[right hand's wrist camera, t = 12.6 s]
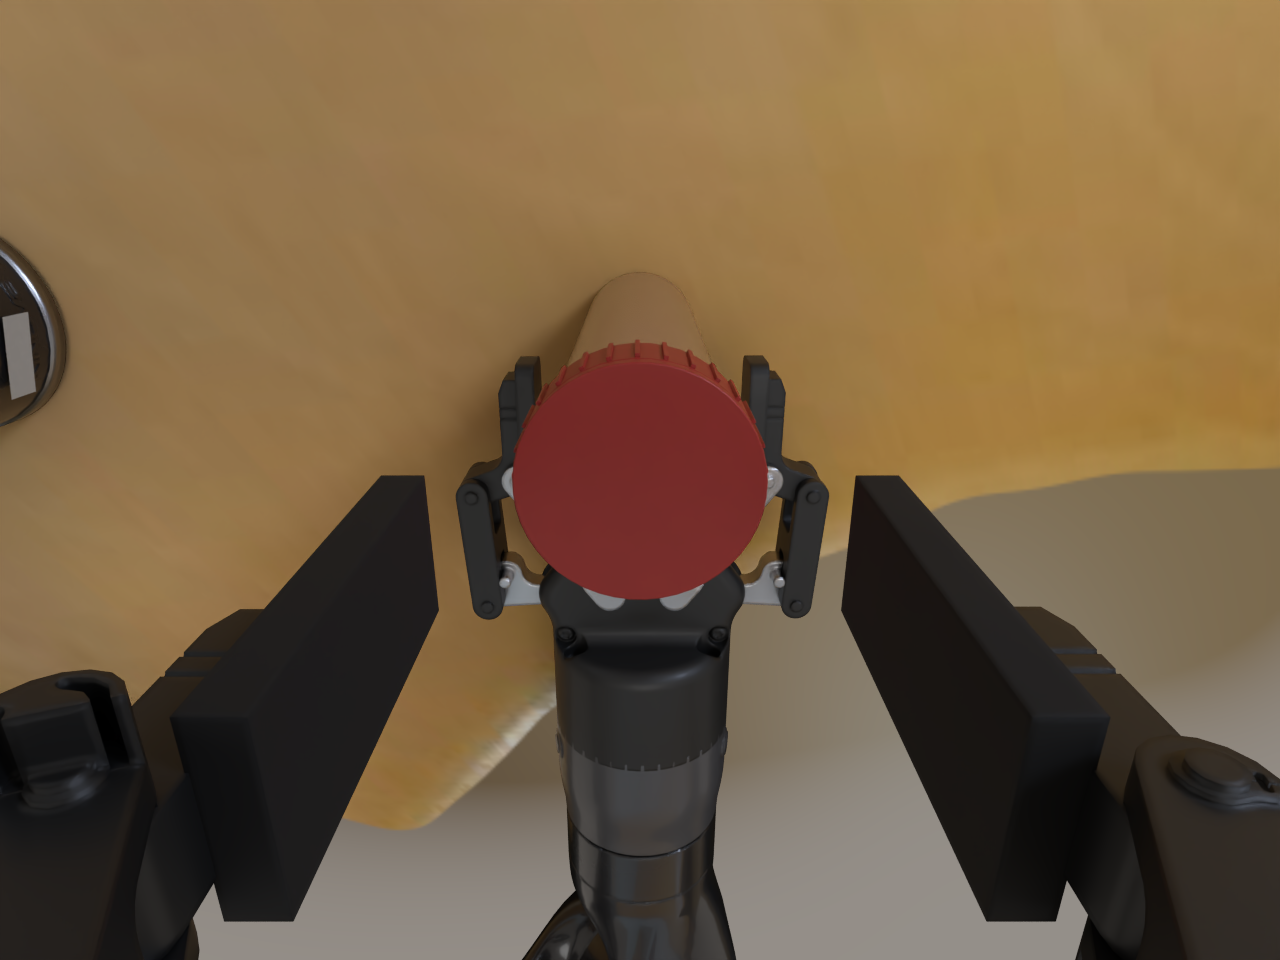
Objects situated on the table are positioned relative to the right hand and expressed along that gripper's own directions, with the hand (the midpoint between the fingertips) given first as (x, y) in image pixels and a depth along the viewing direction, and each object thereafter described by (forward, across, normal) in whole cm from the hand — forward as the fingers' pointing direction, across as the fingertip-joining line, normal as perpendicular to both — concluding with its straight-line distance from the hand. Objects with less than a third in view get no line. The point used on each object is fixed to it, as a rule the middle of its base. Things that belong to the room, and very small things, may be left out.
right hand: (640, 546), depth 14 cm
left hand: (+16, 0, 0) cm, 16 cm away
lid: (+3, 0, 0) cm, 3 cm away
